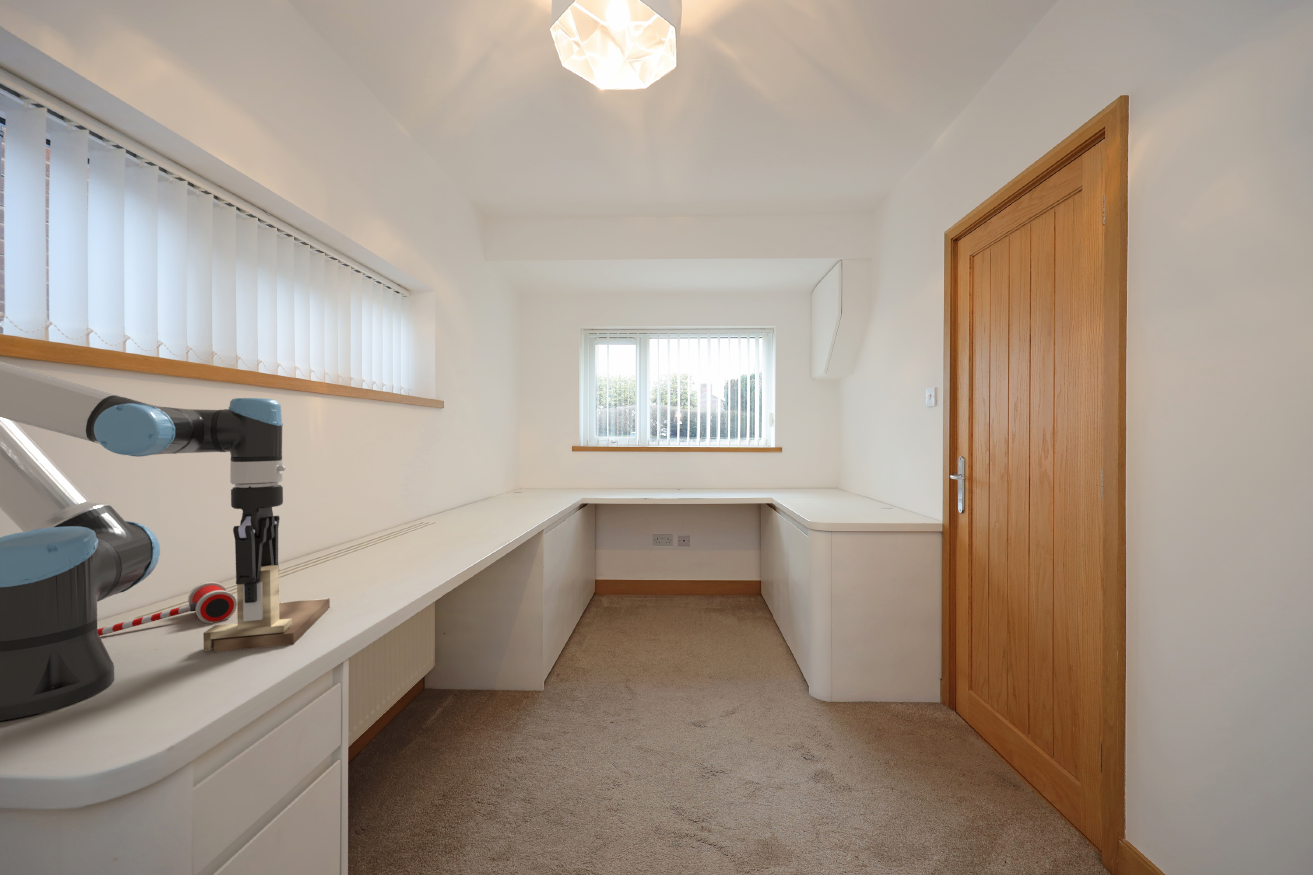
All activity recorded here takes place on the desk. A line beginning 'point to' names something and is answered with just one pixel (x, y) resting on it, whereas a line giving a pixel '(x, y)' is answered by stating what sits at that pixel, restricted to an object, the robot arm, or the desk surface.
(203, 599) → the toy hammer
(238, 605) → the bracket
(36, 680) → the robot arm
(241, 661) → the desk surface
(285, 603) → the board
